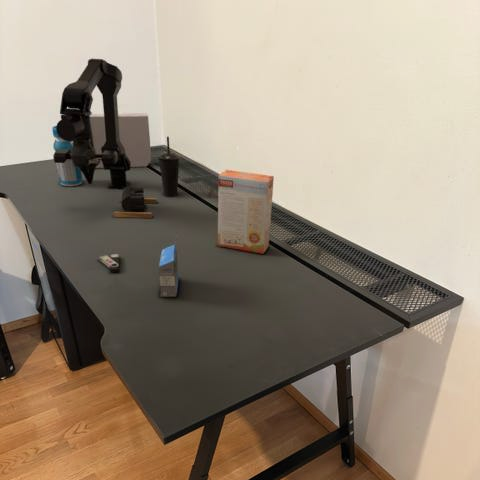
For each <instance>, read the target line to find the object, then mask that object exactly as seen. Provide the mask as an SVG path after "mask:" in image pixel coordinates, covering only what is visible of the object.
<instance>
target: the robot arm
mask: <svg viewBox="0 0 480 480" xmlns="http://www.w3.org/2000/svg"><path fill="white" fill-rule="evenodd" d="M122 81H123V73H122V70H121V69H120V68H118V66H117V65H114V64H112V63H110V62H108V61H106V60H105V59H103V58H89V59H88V60H87V65H86V67H84V70H83V71H82V72H81V74H80V76H79V77H78V79H76V81H74V82H71V83H68V84H67V85H66V86H65V87H64V88H63V91H62V94H61V101H60V109H59V115H60V120H59V121H58V122H57V123H56V126H57V127H56V131H57V133H58V135H59V136H60V138H62V139H63V140H65V141H71V140H73V147H72V150H71V151H70V149H59V150H57V151H56V152H55V151H54V153H53V154H52V155H53V157H52V158H53V162H54V163H55V164H57V163H65V161H66V160H67V159H72V162H73V165H74V166H77V167H78V168H80V170H81V174H82V175H83V176H84V178H85V180H86V182H87V184H88V185H92V184H93V182H94V181H93V180H94V176H95V171H96V169H97V168H96V166H98V165H99V163H100V162H101V161H100V160H102V163H103V167H104V168H103V170H105V171H106V170H107V171H109V174H110V182H111V183H110V184H109V186H108V188H110V189H125V188H126V187H127V186H130V181H128V178H127V172H128V171H131V167H130V166H131V162H130V160H129V159H128V157H127V156H126V154H125V148H124V146H123V145H122V143H121V142H120V136H119V121H118V114H119V108H118V107H119V106H118V94H119V93H120V90H121V88H122ZM95 88H97V89H98V91H99V92H100V94H101V95H102V96H101V97H102V107H103V109H102V110H103V114H104V122H105V135H106V142H105V144H104V146H102V148H101V152H102V154H96V153H95V152H96V150H95V148H94V141H93V138H94V136H93V134H92V126H91V119H90V115H91V114H93V113H92V111H91V109H92V105H93V101H94V98H93V92H94V90H95Z"/></svg>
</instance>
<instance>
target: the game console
mask: <svg viewBox="0 0 480 480" xmlns="http://www.w3.org/2000/svg"><path fill="white" fill-rule="evenodd" d="M90 119H91V126H92V134H93V136H94V138H93V141H94V148H95V150H96V152H95V153H96V154H102V152H101V148H102V146H104V144H105V142H106V135H105V122H104V113H92V114H91V115H90ZM118 121H119V136H120V142H121V143H122V145H123V146H124V148H125V154H126V156H127V157H128V159H129V160H130V162H131V166H130V168H135V167H136V168H141V167H147V166H148V165H149V164H150V163H151V162H152V149H151V137H150V136H151V135H150V122H149V114H148V113H147V112H142V113H141V112H140V113H138V112H137V113H135V112H134V113H130V112H126V113H125V112H123V113H118ZM100 161H101V162H100V163H99V165H98V166H96V168H95V169H104V167H103V163H102V160H100Z"/></svg>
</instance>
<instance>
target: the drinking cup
mask: <svg viewBox="0 0 480 480" xmlns="http://www.w3.org/2000/svg"><path fill="white" fill-rule="evenodd" d="M166 146H167V147H166V148H167V149H166V150H167V151H164V152H161V153H160V154H158V155H157V159H158V162H159V163H158V164H159V171H160V177H161V182H162V189H163V195H164V196H165V197H168V198H169V197H170V198H171V197H176V196H178V192H179V191H178V190H179V189H178V188H179V172H180V171H179V168H180V158H181V155H180V154H178V153H176V152H174V151H170V136H166Z"/></svg>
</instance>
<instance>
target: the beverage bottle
mask: <svg viewBox="0 0 480 480" xmlns="http://www.w3.org/2000/svg"><path fill="white" fill-rule="evenodd" d="M56 127H57V125H54V126H52V128H51V130H52V136H53V138H54V139H55V140H54V142H53V147H52V148H53V150H54V153H55V152H56V151H57V150H59V149H70V151H71V150H72V147H73V140H71V141H65V140H63V139H62V138H60V136H59V135H58V133H57V131H56ZM56 168H57V173H58V178H59V183H60V185H62V186H64V187H78V186H80V185H82V184H83V181H84V180H83V179H84V178H83V173H82V171H81V170H80V168H78V167H77V166H74V165H73V162H72V159H67V160H66V161H65V163H56Z"/></svg>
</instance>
